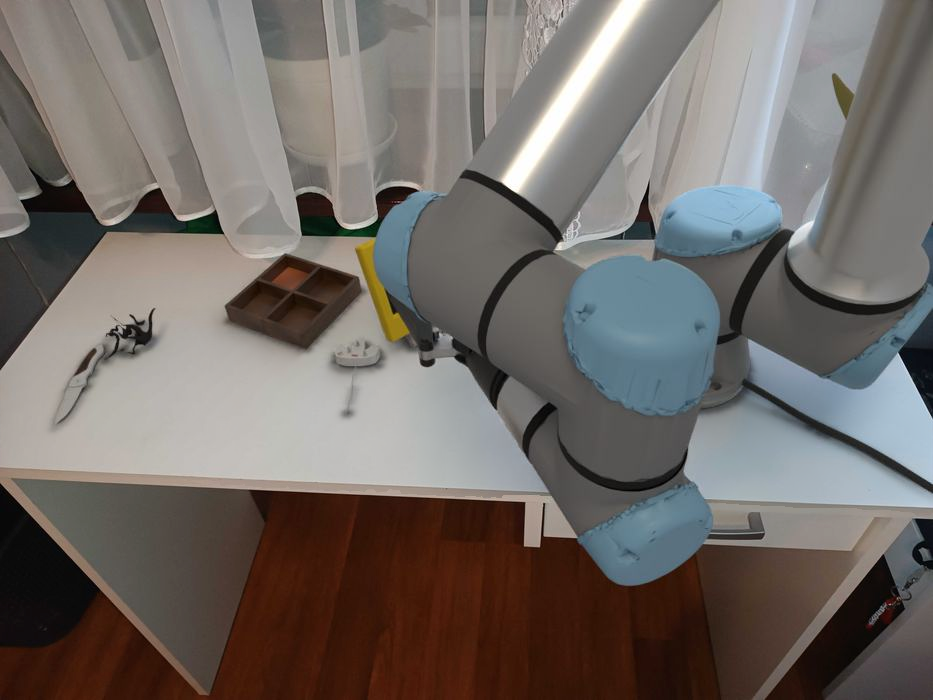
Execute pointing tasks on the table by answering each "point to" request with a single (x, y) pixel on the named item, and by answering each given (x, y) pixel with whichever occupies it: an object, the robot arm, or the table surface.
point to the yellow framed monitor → (382, 297)
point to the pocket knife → (79, 380)
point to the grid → (294, 300)
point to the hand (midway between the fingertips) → (419, 221)
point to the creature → (140, 335)
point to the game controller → (357, 356)
